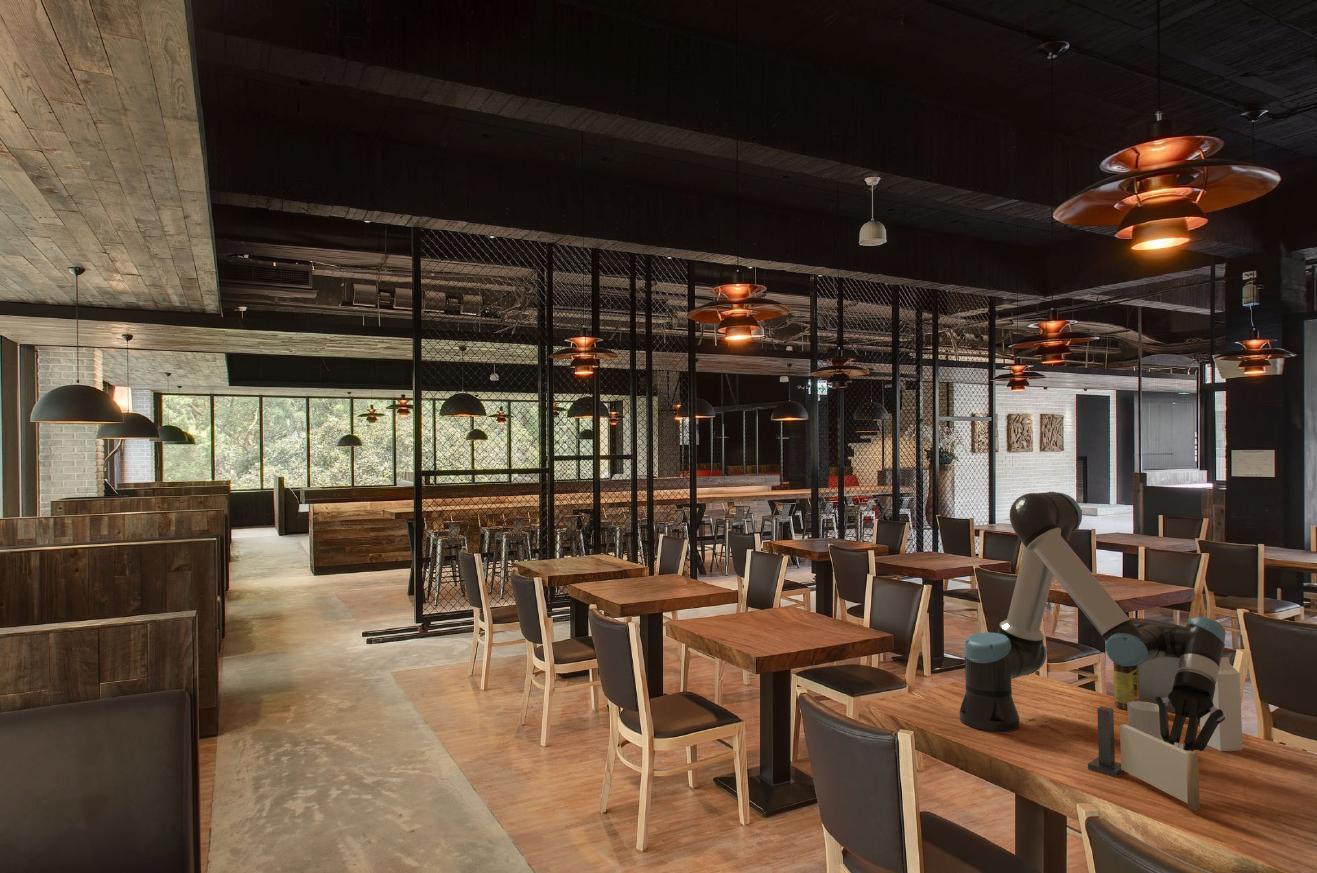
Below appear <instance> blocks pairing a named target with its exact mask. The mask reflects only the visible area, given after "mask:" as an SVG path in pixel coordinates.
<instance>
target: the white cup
mask: <svg viewBox="0 0 1317 873" xmlns="http://www.w3.org/2000/svg"><path fill="white" fill-rule="evenodd" d="M1127 707H1128V710H1127V717H1128V718H1127V720H1128V726H1130V727H1133V728H1135V729H1137V730H1140V731H1142V732H1144V733H1146V734H1149V735H1151V736H1153V737H1156V738H1158V739H1160V740H1163V739H1162V737H1161V734H1160V718H1159V706H1158V704H1157V703H1152V702H1147V701H1141V700H1140V701H1132V702H1128V703H1127Z"/></svg>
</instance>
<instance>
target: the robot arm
mask: <svg viewBox="0 0 1317 873" xmlns="http://www.w3.org/2000/svg"><path fill="white" fill-rule="evenodd" d="M1082 520H1083V514H1082V509H1081V506H1080V505H1079V503H1078V501H1076V500H1075V498H1073V497H1072V496H1070V495H1069V494H1066V493H1064V492H1059V491H1058V492H1056V491H1047V492H1030V493H1029V492H1028V493H1025V494H1023V495H1021V496H1019V497H1018V498H1016V499H1015V500H1014V501H1013V503H1012V505H1011V507H1010V509H1009V521H1010V524H1011V526H1012V529H1013V531H1014V533H1015V535H1016V536H1017V538H1018V539H1019V540H1020V542H1021V543H1022V544H1023V545H1024V547H1023V552H1022V556H1021V561H1020V564H1019V570H1018V572H1017V578H1016V579H1015V580H1016V581H1015V585H1014V589H1013V593H1012V596H1011V597H1012V598H1011V601H1010V602H1011V603H1010V606H1009V608H1008V609H1009V610H1008V614H1007V618H1006V619H1004V620H1003V621H1001V622H1000V623H999V625H998V630H997V632H989V631H987V632H983V633H982V632H978V633H974V634H970V635H969V636H968V637H967V638H965V641H964V649H963V654H964V670H965V671H964V672H965V673H964V676H965V692H964V696H963V698H962V702H961V705H960V708H959V721H960V722H961V723H963V724H964V725H966V726H968V727H971V728H974V729H978V730H982V731H989V732H1012V731H1015V730H1018V729H1019V728H1020V726H1021V723H1020V716H1019V713H1018V710H1017V707H1016V705H1015V704H1016V703H1015V702H1014V699H1013V695H1012V694H1013V693H1012V689H1013V688H1012V680H1013V679H1016V678H1020V677H1024V676H1028V675H1031V674H1033V673H1036V672H1037V671H1039V670H1040V669H1041V668H1042V667H1043V666H1044V665H1045V662H1046V659H1047V647H1046V646H1045V645H1044V644H1045V643H1044V638H1045V635H1044V633H1043V632H1042V631H1041V626H1042V621H1043V617H1044V613H1045V609H1046V606H1047V602H1048V598H1049V595H1050V591H1051V586H1052V583H1053V578H1055V579H1056V581H1058V582H1059V584H1060V586H1061V587H1062V588H1063V589H1064V590H1065V592H1067V594H1068V595H1069V597H1070V598H1071V599H1072V601H1073V602H1074V603H1075V604H1076V605H1077V607H1078V608H1079V609H1080V610H1081V612H1082V613H1083V614H1084V616H1085V617H1086V618H1087V619H1088V620H1089V622H1090V623H1091V624H1092V625H1093V627H1094V628H1095V629H1096V631H1098V634H1100V635H1101V636H1102V638H1103V640H1104V641H1105V652H1106V655H1107V656H1108V657H1109V659H1110V660H1111V661H1112V662H1113V663H1114V662H1115V663H1116V664H1118V665H1121V666H1136V665H1138V666H1139V665H1142V664H1144V663H1146V662H1149V661H1152V660H1156V659H1158V658H1172V659H1174V658H1176V659H1178V663H1177V668H1176V671H1175V672H1176V674H1175V676H1174V679H1173V684H1172V689H1171V692H1169V693H1168V694H1167V696H1165V697H1161V696H1156V697H1155V698H1154V699H1155V701H1156V704H1157V705H1158V706H1159V718H1160V734H1161V737H1162V739H1163V741H1165V742H1167V743H1169V744H1172V745H1174V746H1176V747H1179V748H1181V749H1183V750H1185V751H1194V752H1195V751H1200V752H1203V751H1204V750H1205V749H1206V747H1207V746H1208V745H1207V743H1208V742H1209V740H1210V738H1211V736H1212V734H1213V733H1214V731H1215V729H1216V727H1217V726H1218V724H1219V723H1221V722H1222V721H1223V720H1225V716H1224V714H1223V711H1222V710H1220V709H1217V708H1215V707H1214V704H1213V697H1214V692H1215V685H1216V682H1217V677H1218V673H1219V667H1220V662H1221V658H1223V657H1222V656H1223V653H1224V648H1225V645H1226V644H1225V641H1226V633H1227V632H1226V629H1225V627H1224V626H1223V625H1222V624H1221V623H1219V622H1218V621H1216V620H1215V619H1213V618H1209V617H1204V616H1195V617H1191V618H1190V619H1189V620H1188V621H1187V623H1186V626H1184V625H1183V626H1181V625H1180V626H1178V625H1177V626H1173V625H1161V624H1149V623H1133V621H1132V620H1131V619H1130V617H1129V616H1128V615H1127V614H1126V613H1125V611H1123V609H1122V608H1121V606H1120V605H1119V604H1118V602H1116V601H1115V599H1114V598H1113V597H1112V596H1111V594H1109V592H1108V591H1107V589H1105V587H1104V586H1103V585H1102V584H1101V582H1100V581H1099V580H1098V578H1096V577H1095V575H1094V574H1093V572H1092V571H1091V570H1090V569H1089V568H1088V567H1087V566H1086V565H1085V563H1084V562H1083V561H1082V559H1081V558H1080V557H1079V555H1077V554H1076V552H1075V551H1074V550H1073V549H1072V547H1071V546H1070V545H1069V541H1070V537H1071V534H1072V533H1073V532H1075V531H1076V530H1077V529H1078V528H1079V527H1080V526H1081V523H1082ZM1170 704H1171V706H1172V707H1173V709H1174V710H1175V711H1174V712H1175V715H1174V718H1173V723H1172V725H1171V726H1172V727H1171V731H1170V726H1169V713H1168V710H1167V709H1169V707H1170ZM1209 712H1210V716H1209V717H1208V719H1207V721H1206V723H1205V724H1204V726H1203V728H1202V730H1201V729H1200V731H1199V733H1198V730H1199V729H1198V728H1199V725H1200V718H1201V717H1203V716H1205V715H1206V714H1208V713H1209ZM1187 718H1188V723H1187V726H1186V731H1185V737H1184V740H1183V743H1184V744H1183V743H1180V742H1181V737H1182V733H1183V728H1184V724H1185V722H1186V719H1187ZM1197 733H1198V735H1197Z"/></svg>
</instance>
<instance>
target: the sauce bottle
mask: <svg viewBox="0 0 1317 873" xmlns="http://www.w3.org/2000/svg"><path fill="white" fill-rule="evenodd" d="M1139 671H1140V670H1139V665H1136V666H1121V665H1118V664H1116V663H1115V662H1113V692H1114V705H1115V707H1117V708H1118V709H1121V710H1125V711H1126V710H1127V711H1128V707H1127V703H1128V702H1132V701H1141V700H1140V679H1139V678H1140V676H1139V675H1140V674H1139Z"/></svg>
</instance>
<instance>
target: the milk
mask: <svg viewBox="0 0 1317 873" xmlns="http://www.w3.org/2000/svg"><path fill="white" fill-rule="evenodd" d="M1213 704H1214V707H1215V708H1217V709H1220V710H1222V711H1223V714H1224V716H1225V720H1223V721H1222V722H1221V723H1219V724H1218V726H1217V727H1216V729H1215V731H1214V733H1213V734H1212V736H1211V738H1210V740H1209V742H1208V743H1207V745H1206V746H1208V747H1210V748H1213V749H1215V750H1216V751H1219V752H1233V751H1234V752H1235V751H1243V725H1242V724H1243V723H1242V722H1243V721H1242V696H1241V673H1240V671H1238V670H1237V669H1236V668H1235V667H1234V666H1233V665H1232V664H1231V663H1230V657H1221V662H1220V667H1219V673H1218V677H1217V682H1216V685H1215V692H1214V697H1213ZM1209 716H1210V712H1209V713H1208V714H1206V715H1205V716H1203V717H1201V718H1200V723H1199V725H1200V726H1199V727H1200V731H1201V730H1202V728H1203V726H1204V724H1205V723H1206V721H1207V719H1208V717H1209Z"/></svg>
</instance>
